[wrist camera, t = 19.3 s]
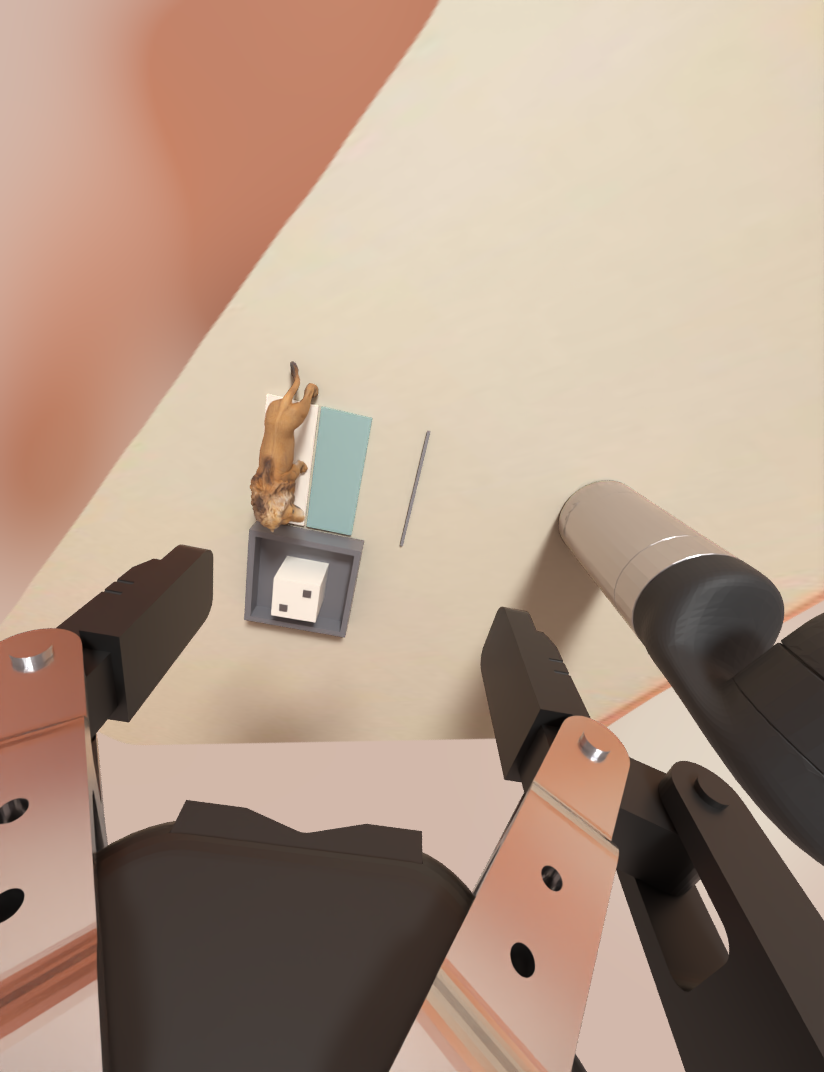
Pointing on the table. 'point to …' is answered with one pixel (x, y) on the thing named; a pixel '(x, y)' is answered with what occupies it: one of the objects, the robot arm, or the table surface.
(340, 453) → the track
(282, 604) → the die
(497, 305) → the table surface
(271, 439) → the lion figurine
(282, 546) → the dice tray
